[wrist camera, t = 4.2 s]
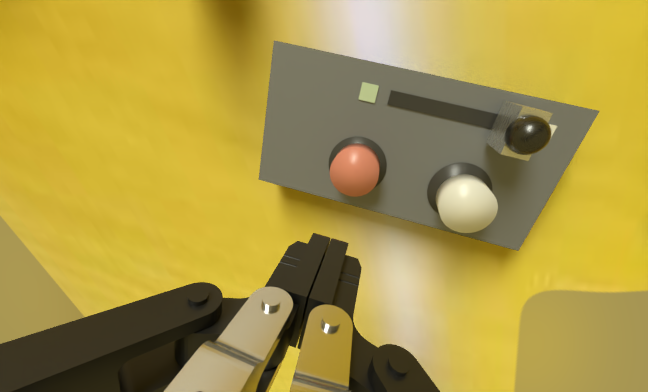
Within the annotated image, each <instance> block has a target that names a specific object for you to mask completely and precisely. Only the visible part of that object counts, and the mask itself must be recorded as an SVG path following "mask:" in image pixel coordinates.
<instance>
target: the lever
mask: <svg viewBox="0 0 648 392" xmlns="http://www.w3.org/2000/svg"><path fill="white" fill-rule="evenodd" d="M552 114H553V113H550V112H547V111H543V110H540V109H536V108H533V107H530V106H525V105H521V104H516V103H512V102H507V101H504V102H503V104H502V106H501V109H500V111H499V113H498V116H497V118H496V120H495V122H494V125H493V127H492V129H491V132H490V134H489V136H488V138H487V141H486V143H487V144H489V145H490V146H491V147H492V148H493V149H495V150H496V151H497V152H498V153H499V154H501V155H505V156H509V157H514V158H518V159H522V160H526V161H529V159H530V157H531V155H532V154H534V153H537V152H539V151H541V150H542V149H543V148H545V147H546V145H547V144H548V143H549V141H550V138H551V128H550V125H549V124H548V122H549V120H550V118H551V116H552Z"/></svg>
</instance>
